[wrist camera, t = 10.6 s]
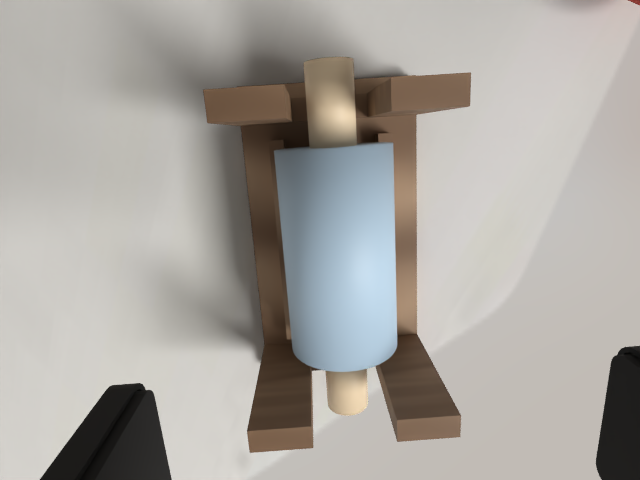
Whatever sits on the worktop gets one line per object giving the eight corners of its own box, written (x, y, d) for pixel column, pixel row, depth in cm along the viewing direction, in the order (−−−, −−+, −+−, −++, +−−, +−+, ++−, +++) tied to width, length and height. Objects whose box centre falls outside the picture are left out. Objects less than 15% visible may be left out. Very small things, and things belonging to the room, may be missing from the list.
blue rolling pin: (271, 74, 23) (258, 54, 17) (380, 66, 23) (404, 44, 17) (299, 376, 28) (296, 442, 22) (388, 370, 28) (409, 434, 22)
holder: (239, 88, 24) (199, 63, 15) (411, 77, 24) (471, 46, 15) (268, 364, 28) (251, 468, 20) (413, 354, 28) (459, 452, 20)
